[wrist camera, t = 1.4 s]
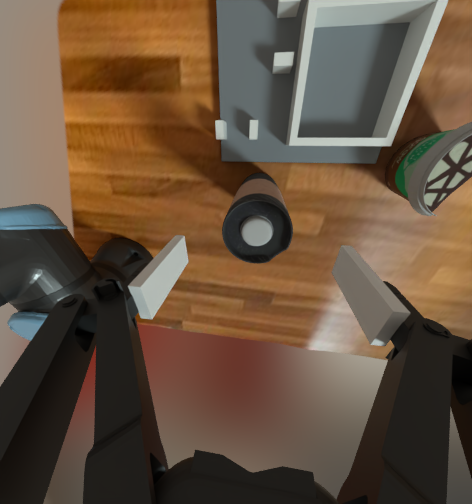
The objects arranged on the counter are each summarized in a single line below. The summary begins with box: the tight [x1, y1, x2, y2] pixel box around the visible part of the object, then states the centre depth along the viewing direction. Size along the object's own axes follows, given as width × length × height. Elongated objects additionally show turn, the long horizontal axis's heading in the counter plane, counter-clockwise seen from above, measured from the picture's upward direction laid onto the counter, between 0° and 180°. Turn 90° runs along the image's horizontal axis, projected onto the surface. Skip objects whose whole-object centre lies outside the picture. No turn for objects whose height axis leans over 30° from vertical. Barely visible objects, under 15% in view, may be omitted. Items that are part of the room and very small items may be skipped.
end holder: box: [286, 0, 448, 146], centre depth 24 cm, size 14×14×4 cm
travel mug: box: [222, 173, 293, 263], centre depth 27 cm, size 8×8×20 cm
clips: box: [215, 0, 301, 140], centre depth 25 cm, size 10×14×3 cm
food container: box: [385, 122, 472, 216], centre depth 26 cm, size 12×6×10 cm, turn 159°
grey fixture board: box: [216, 0, 410, 164], centre depth 27 cm, size 26×19×2 cm
